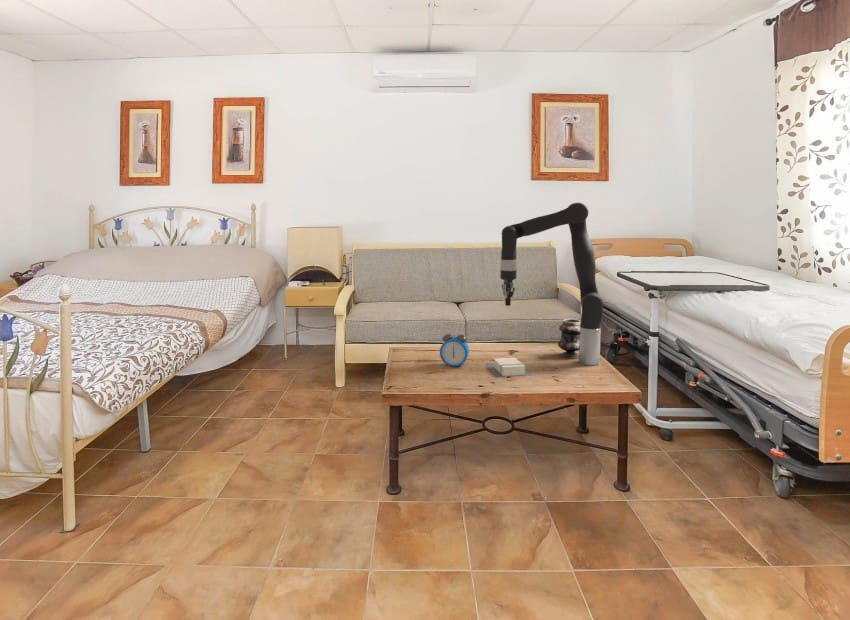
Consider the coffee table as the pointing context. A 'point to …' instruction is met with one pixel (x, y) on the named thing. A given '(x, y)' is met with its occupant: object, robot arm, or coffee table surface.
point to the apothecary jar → (570, 338)
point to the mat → (497, 374)
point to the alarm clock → (454, 350)
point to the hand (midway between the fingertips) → (507, 305)
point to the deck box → (509, 366)
